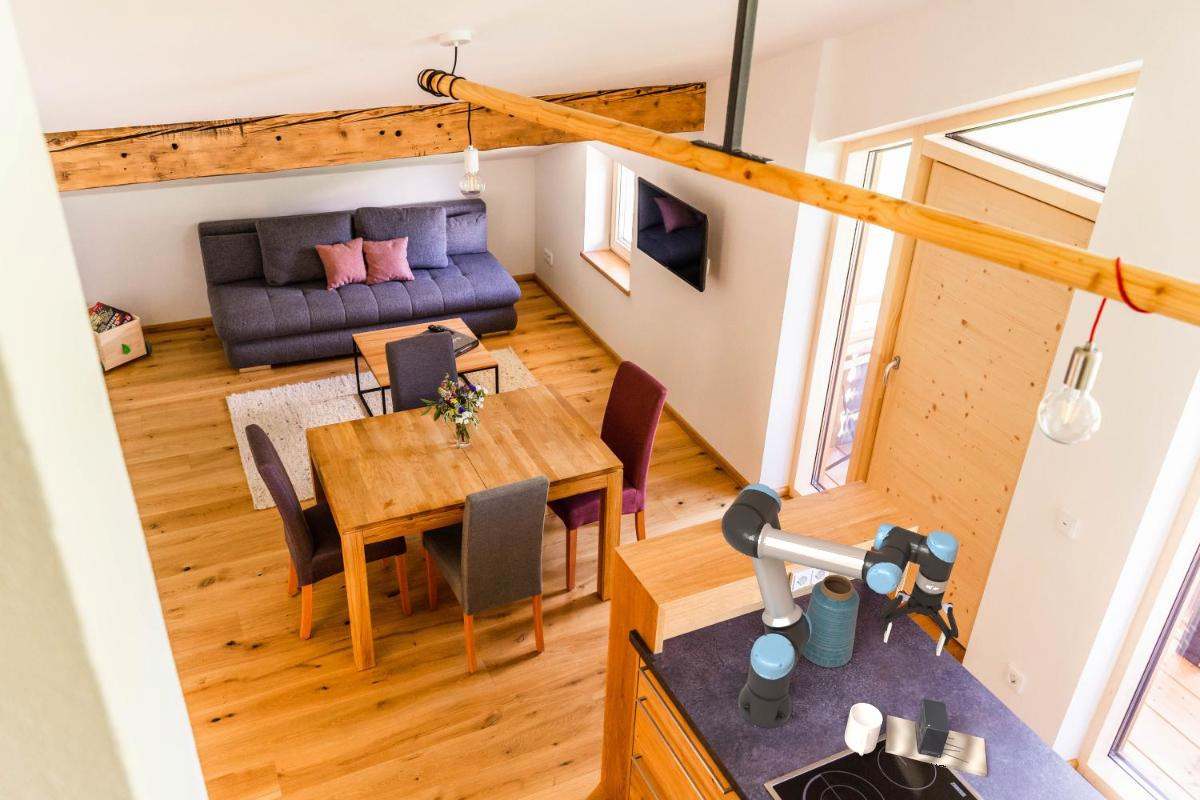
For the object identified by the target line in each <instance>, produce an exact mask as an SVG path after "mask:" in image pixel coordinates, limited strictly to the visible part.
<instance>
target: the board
mask: <svg viewBox="0 0 1200 800" xmlns="http://www.w3.org/2000/svg"><path fill="white" fill-rule="evenodd" d="M885 721H886V723H885V724H886V726H885V727H886V728H885V750H884V752H885V753H888V754H893V755H896V756H900V757H903V758H906V759H907V758H909V759H911V760H915V761H916V760H917V761H919V762H923V763H927V764H931V763H932V764H931V765H936V764H937V765H936V766H939V765H944V766H945V765H946V766H949V767H953V768H955V769H957V770H956V771H958V770H960V771H959V772H962V771H963V772H962V773H966V772H967V773H968V774H970V773H971V774H970V775H975V776H979V777H983V778H987V775H988V768H987V756H986V755H987V754H986V744H985V738H982V737H978V736H974V735H971V734H967V733H962V732H959V731H954V730H952V729H951V730H950V729H949V734H948V737H947V740H946V743H945V746H944V749H943V752H942V755H941V758H937V757H933V756H928V755H923V754H919V753H918V749H917V739H916V728H915V723H916V721H914V720H909V719H905V718H901V717H897V716H893V715H888V714H887V716H886V720H885ZM955 769H954V770H955ZM967 773H966V774H967Z"/></svg>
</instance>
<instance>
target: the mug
mask: <svg viewBox="0 0 1200 800" xmlns="http://www.w3.org/2000/svg"><path fill="white" fill-rule="evenodd" d="M847 718H848V719H847V723H846V727H845V732H844V741H845V742H844V743H845V744H846V746H847V747H848V748H849V749H850V750H851V751H853V752H855V753H857V754H859V756H861V757H862V756H864V754H865V755H867V754H869V753H872V752H873V751H874V750H875V749H876V747H877V743H878V740H879V739H878V738H879V736H880V732H881V727H882V723H883V715H882V713H881V711H880V709H878V708H877V707H876V706H873V705H872V704H869V703H867V702H859V703H855V704H853V705H852V706H851V708H850V711H849V714H848V717H847Z"/></svg>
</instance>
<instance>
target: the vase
mask: <svg viewBox="0 0 1200 800" xmlns="http://www.w3.org/2000/svg"><path fill="white" fill-rule="evenodd" d="M810 594H811V595H810V597H809V598H810V599H809V602H808V604H807V608H806V614H807V615H808V616H809V618H810V620H811V623H812V633H811V636H810V640H809V642H808V644H807V645H806V647H805V649H804V650H803V652H802V654H801V655H803V656H804V657H805V658H806V659H807V660H808V661H809V662H811V663H813V664H815V665H817V666H820V667H824V668H837V667H842V666H844V665H846V664H848V662H849V661H850V660H851V659H852V655H853V651H854V650H853V649H854V643H855V637H856V636H855V635H856V626H857V620H858V613H859V607H860V606H859V605H860V595H859V594H858V591H857V590H856V589H855V588H854V584H853V582H852V581H850V579H848V578H847V577H846V576H844V575H840V574H830V575H827V576H824V578H823V580H820V581H818V582H817V583H815V584H814V586H813V587H812V590H811V593H810Z"/></svg>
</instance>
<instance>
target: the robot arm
mask: <svg viewBox="0 0 1200 800" xmlns="http://www.w3.org/2000/svg"><path fill="white" fill-rule="evenodd" d="M781 509H782V500H781V497H780V495H779V494H778V493H777V492H776V490H774V489H773V488H771V487H770V486H768V485H766V484H762V483H752V484H749V485H746V486H745V487H744V488H743V489H742V490H741V491H739V493H738V495H737V496H736V498H735V499H734V501H733V502H732V504H731V505H729V508H728V509H727V510H726V511H725V512H724V514H723V516H722V518H721V524H720V526H721V529H720V530H721V533H722V536H723V538H724V539H725V542H727V544H729V546H730V547H732V548H733V549H734V550H735V551H737V552H739V553H741V554H743V555H745V556H748V557H750V558H751V562H752V565H753V569H754V573H755V576H756V580H757V584H758V588H759V591H760V592H759V593H760V597H761V599H762V603H763V606H764V607H763V608H764V611H763V612H762V615H761V619H762V622H763V623H762V625H763V627H764V634H763V635H761V636H760V637H759V638H757V639H756V640H755V642H754V643H753V646H752V648H751V650H750V656H749V657H750V659H749V660H750V661H749V669H748V676H747V681H746V683H745V685H743V687H742V689H741V690H740V692H739V695H738V702H737V705H738V710H739V712H740V714H741V716H742V717H743V718H744V719H745V720H746V721H748V722H749V723H750V724H752V725H754V726H757V727H760V728H764V729H773V728H774V729H775V728H779V727H782V726H783V725H784V724H786V723H787V722H788V720H790V717H791V713H792V708H793V706H792V705H793V704H792V699H791V696H790V693H789V692H790V691H789V688H790V683H791V679H792V675H793V672H794V670H795V668H796V666H797V664H798V662H799V660H800V658H801V656H802V655H803V654H802V652H803V650H804V649H805V647H806V645H807V644H808V642H809V640H810V636H811V633H812V623H811V620H810V618H809V616H808V615H807V614H806V613H807V612H806V613H805V612H804V610H803V609H802V608H801V606H800V605H798V604H796V603H795V600H794V596H793V593H792V592H793V591H792V589H791V585H790V581H789V576H788V573H787V569H786V565H785V562H787V563H792V564H796V565H800V566H804V567H807V568H813V569H816V570H821V571H824V572H829V573H833V574H835V575H840V576H843V577H848V578H849V577H850V578H853V579H856V580H862V581H865V582H866V584H867V585H868V587H869V588H870V589H871V590H873V591H874V592H875V593H876V594H877V593H878V594H880V595H888V594H892V593H893V592H895V591H896V590H897V589H898V586H899V585H900V584H901V582H902V580H903V578H904V577H903V576H904V573H905V571H906V569H907V566H908V564H909V563H911V564H914V565H916V564H917V565H918V566H919V567H918V570H917V574H916V577H915V581H914V583H913V588H912V589H911V593H910V594H909V595H908V594H905V593H904V591H903V590H899V591H898V592H897V594H896V596H895V597H894V598H892V599H891V600H890V601H889V602H888V603H886V604H885V606H883V607H882V608H881V609H880V610H879V611H878V619H879V620H881V621H882V620H883V623H882V631H885V632H884V635H883V643H886V644H887V643H888V639H889V636H890V632H891V629H892V626H893V622H894V621H896V620H898V619H900V618H902V617H904V616H906V615H908V614H909V615H911V614H913V613H915V614H916V615H923V616H924V617H925V616H926V617H931V618H932V620H933V621H935V623H936V625H937V626H938V627H939V629H940V630H941V633H940V637H939V639H938V642H937V645H936V648H935V650H936V652H935V653H936V656H938V657H940V656H941V653H942V649H943V646H945V647H947V646H948V645H949V641H951V639H952V638H955V639H958V638H959V629H958V625H957V622H956V619H955V615H954V612H953V611H954V607H953V606H954V605H953V602H951V601H950V602H948V603H942V602H943V599H944V595H945V592H946V589H947V586H948V582H949V579H950V576H951V574H952V571H953V567H954V565H955V562H956V559H957V554H958V551H959V541H958V539H957V538H956V537H955V536H954V535H953V534H951V533H950V532H946V531H944V530H942V531H939V530H934V531H932V532H930V533H929V534H928V535H923V534H921V533H918V532H915V531H912V530H909V529H906V528H904V527H902V526H899V525H893V524H891V523H887V522H883V523H881V524H880V525H879V527H878V530H877V532H876V535H875V538H874V541H873V549H874V550H876V551H874V550H870V549H869V550H868V549H864V548H859V547H855V546H852V545H847V544H842V543H837V542H834V541H829V540H825V539H821V538H817V537H812V536H808V535H803V534H798V533H794V532H790V531H786V530H782V528H781V523H780V519H779V513H780V512H781V511H782V510H781ZM906 601H907V602H906ZM905 602H906V603H905ZM904 603H905V604H904ZM901 604H904V605H902V606H900V605H901ZM899 606H900V607H899ZM941 610H943V612H945V613H944V614H946V617H947V620H948V623H949V625H950V627H949V626H948V624H947V623H946V621H945V620H944V618H943V617H942V615H941V613H940V611H941Z"/></svg>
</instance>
